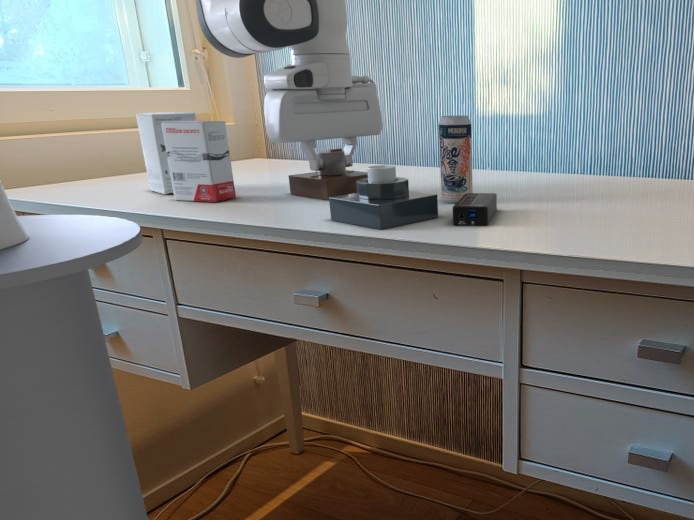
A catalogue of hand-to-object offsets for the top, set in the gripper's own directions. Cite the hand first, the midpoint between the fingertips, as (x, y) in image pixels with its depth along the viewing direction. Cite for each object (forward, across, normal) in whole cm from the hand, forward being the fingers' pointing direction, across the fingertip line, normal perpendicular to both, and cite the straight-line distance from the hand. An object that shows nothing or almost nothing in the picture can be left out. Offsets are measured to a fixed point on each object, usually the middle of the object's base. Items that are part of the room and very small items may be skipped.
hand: (331, 168), depth 111 cm
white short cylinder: (-1, +10, +24) cm, 26 cm away
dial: (+1, 0, 0) cm, 1 cm away
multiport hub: (+4, +2, +33) cm, 33 cm away
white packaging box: (+4, +14, -25) cm, 29 cm away
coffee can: (+4, -6, +22) cm, 23 cm away
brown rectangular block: (+4, 0, 0) cm, 4 cm away
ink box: (+4, +16, -12) cm, 20 cm away
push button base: (+4, +10, +24) cm, 26 cm away
